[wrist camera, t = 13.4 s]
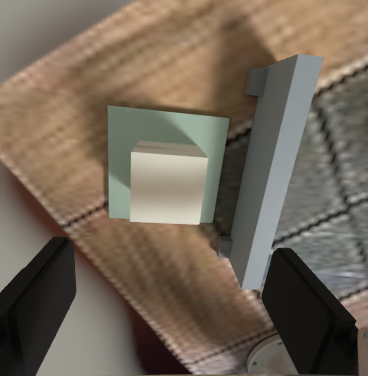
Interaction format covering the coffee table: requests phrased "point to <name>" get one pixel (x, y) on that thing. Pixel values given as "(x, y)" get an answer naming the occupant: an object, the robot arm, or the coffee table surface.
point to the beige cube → (167, 182)
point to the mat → (161, 132)
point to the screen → (268, 161)
